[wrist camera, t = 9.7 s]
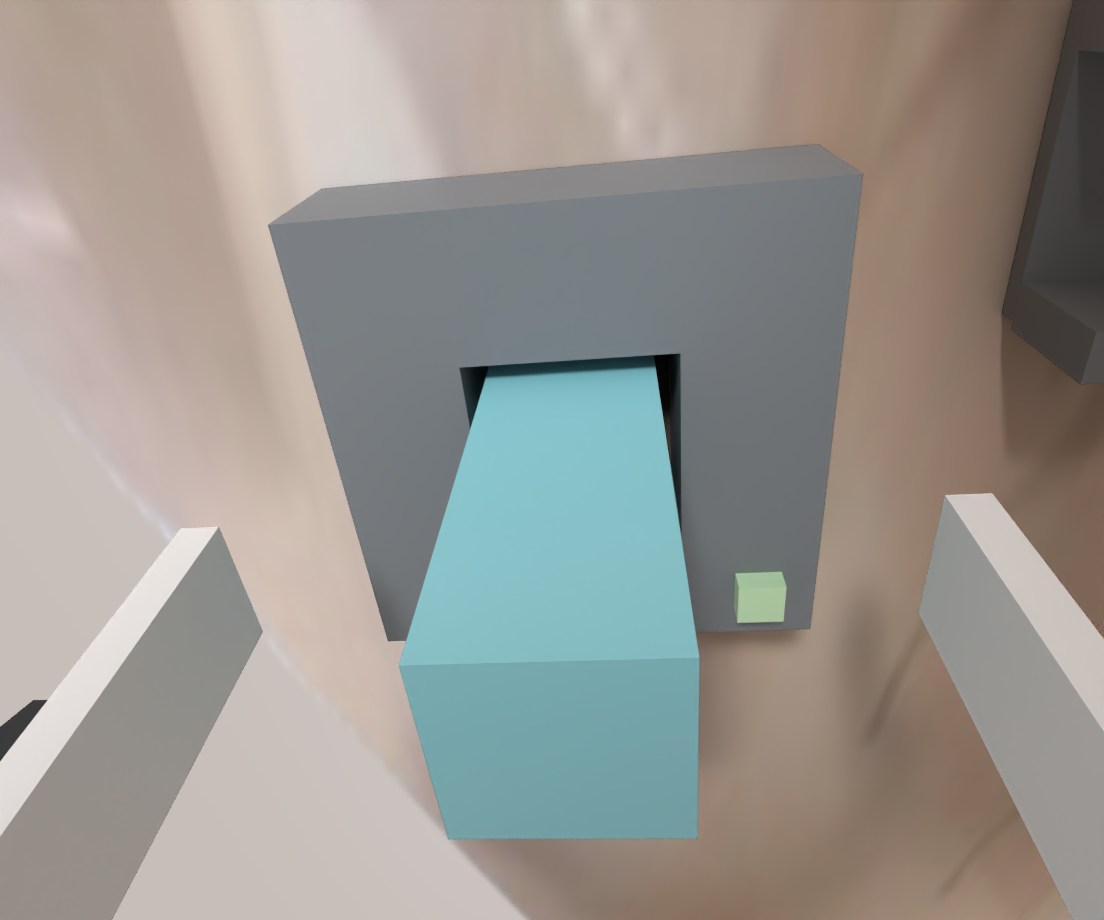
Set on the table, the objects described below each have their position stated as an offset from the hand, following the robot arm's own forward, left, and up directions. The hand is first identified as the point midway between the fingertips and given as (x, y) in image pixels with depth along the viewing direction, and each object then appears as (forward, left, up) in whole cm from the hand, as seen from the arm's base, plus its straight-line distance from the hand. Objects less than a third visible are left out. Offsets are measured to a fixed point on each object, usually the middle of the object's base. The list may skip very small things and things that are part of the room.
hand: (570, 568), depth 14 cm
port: (0, 0, -8) cm, 8 cm away
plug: (0, 0, -8) cm, 8 cm away
